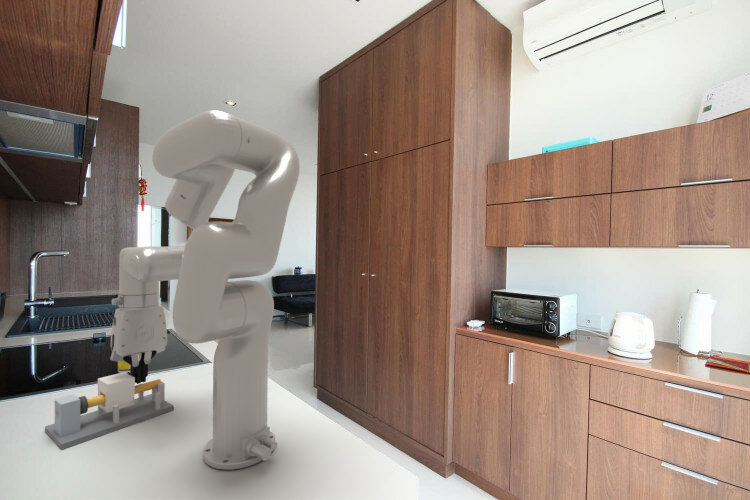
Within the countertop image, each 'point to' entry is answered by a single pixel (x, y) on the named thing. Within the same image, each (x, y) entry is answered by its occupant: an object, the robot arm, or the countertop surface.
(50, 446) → the countertop surface
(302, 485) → the countertop surface
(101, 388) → the white sliding carriage
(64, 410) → the linear actuator
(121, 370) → the supplement bottle
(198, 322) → the robot arm
